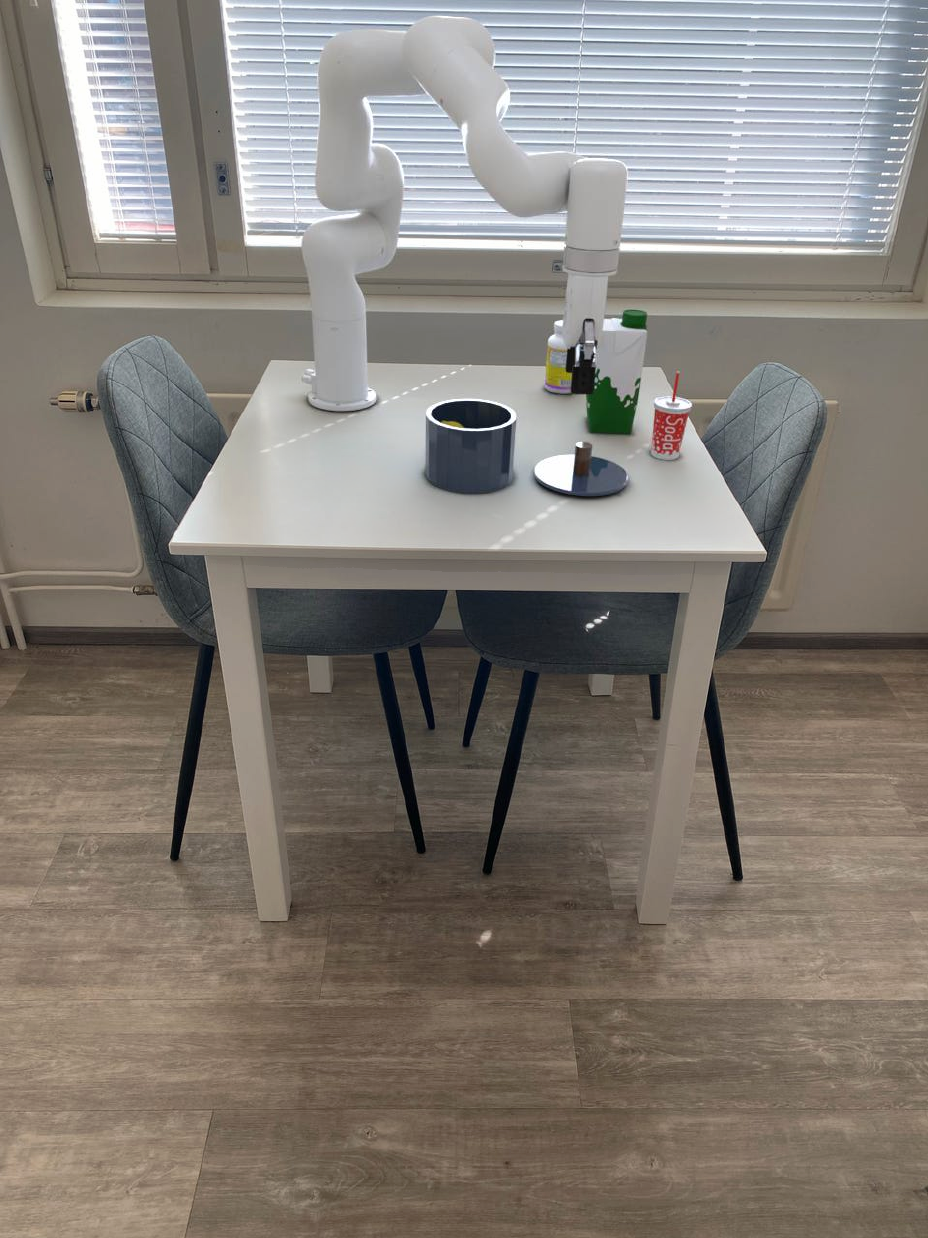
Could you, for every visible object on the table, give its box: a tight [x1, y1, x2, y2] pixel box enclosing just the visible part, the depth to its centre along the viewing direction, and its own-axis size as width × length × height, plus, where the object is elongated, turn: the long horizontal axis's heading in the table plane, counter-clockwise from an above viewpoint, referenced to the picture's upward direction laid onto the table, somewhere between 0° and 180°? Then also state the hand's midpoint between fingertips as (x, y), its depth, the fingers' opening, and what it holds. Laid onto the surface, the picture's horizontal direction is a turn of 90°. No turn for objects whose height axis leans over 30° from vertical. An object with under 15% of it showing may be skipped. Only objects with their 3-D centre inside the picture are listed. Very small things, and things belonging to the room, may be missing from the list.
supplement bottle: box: [544, 319, 572, 395], centre depth 173 cm, size 7×7×13 cm
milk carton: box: [585, 309, 648, 435], centre depth 155 cm, size 9×9×20 cm
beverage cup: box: [650, 371, 693, 461], centre depth 146 cm, size 6×6×14 cm
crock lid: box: [533, 441, 629, 497], centre depth 139 cm, size 15×15×6 cm
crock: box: [424, 398, 517, 495], centre depth 138 cm, size 14×14×10 cm
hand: (578, 382), depth 132 cm, fingers open, 9 cm apart
